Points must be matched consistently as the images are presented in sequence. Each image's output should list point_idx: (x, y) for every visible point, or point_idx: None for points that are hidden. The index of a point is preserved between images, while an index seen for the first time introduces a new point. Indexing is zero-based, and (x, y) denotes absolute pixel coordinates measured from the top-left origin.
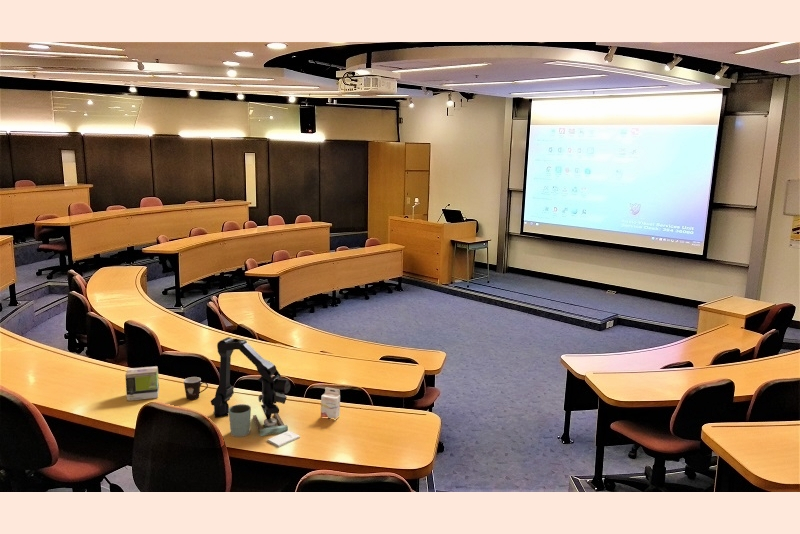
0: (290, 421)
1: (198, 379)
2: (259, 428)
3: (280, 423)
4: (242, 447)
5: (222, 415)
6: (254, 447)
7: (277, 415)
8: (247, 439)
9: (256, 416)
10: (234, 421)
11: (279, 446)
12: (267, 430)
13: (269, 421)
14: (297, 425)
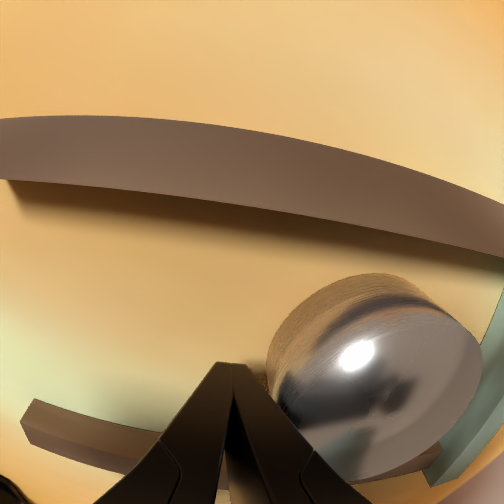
0: (361, 12)
1: None
2: (385, 476)
3: (469, 247)
4: (448, 494)
5: (17, 499)
6: (493, 455)
7: (94, 153)
8: (407, 494)
9: (56, 438)
10: None
11: None
12: (492, 429)
13: (403, 432)
14: (494, 35)
